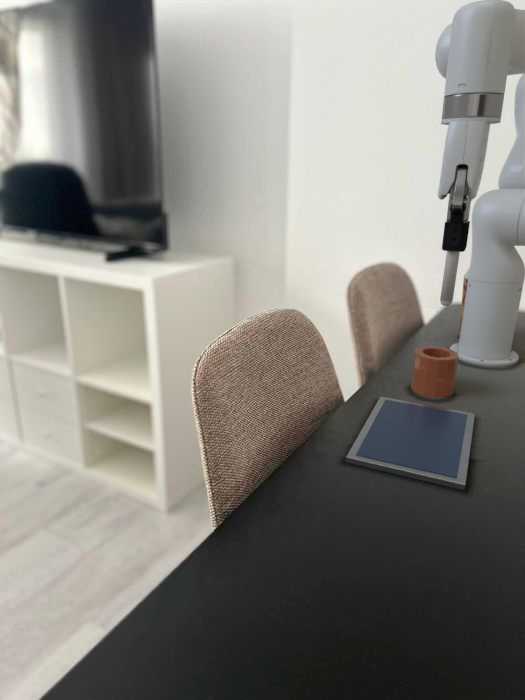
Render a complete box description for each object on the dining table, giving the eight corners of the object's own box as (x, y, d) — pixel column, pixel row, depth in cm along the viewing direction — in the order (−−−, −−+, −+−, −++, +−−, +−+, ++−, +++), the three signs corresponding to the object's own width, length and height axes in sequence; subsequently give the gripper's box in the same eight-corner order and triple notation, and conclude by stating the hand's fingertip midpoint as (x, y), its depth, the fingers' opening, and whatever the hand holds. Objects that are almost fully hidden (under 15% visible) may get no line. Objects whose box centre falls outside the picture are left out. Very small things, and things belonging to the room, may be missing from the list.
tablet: (379, 400, 81) (380, 395, 81) (474, 418, 76) (475, 412, 76) (345, 462, 64) (345, 456, 64) (464, 490, 59) (465, 484, 58)
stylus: (440, 303, 79) (453, 207, 74) (452, 305, 79) (466, 208, 74) (438, 306, 78) (452, 208, 73) (451, 308, 77) (465, 209, 72)
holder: (413, 381, 89) (418, 343, 86) (454, 388, 86) (460, 349, 84) (407, 396, 83) (411, 355, 81) (450, 404, 80) (457, 362, 78)
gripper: (447, 117, 77) (433, 240, 83) (436, 108, 63) (420, 256, 70) (501, 115, 74) (483, 243, 81) (502, 105, 61) (479, 260, 67)
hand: (454, 248), depth 75 cm, fingers closed on stylus, 1 cm apart
